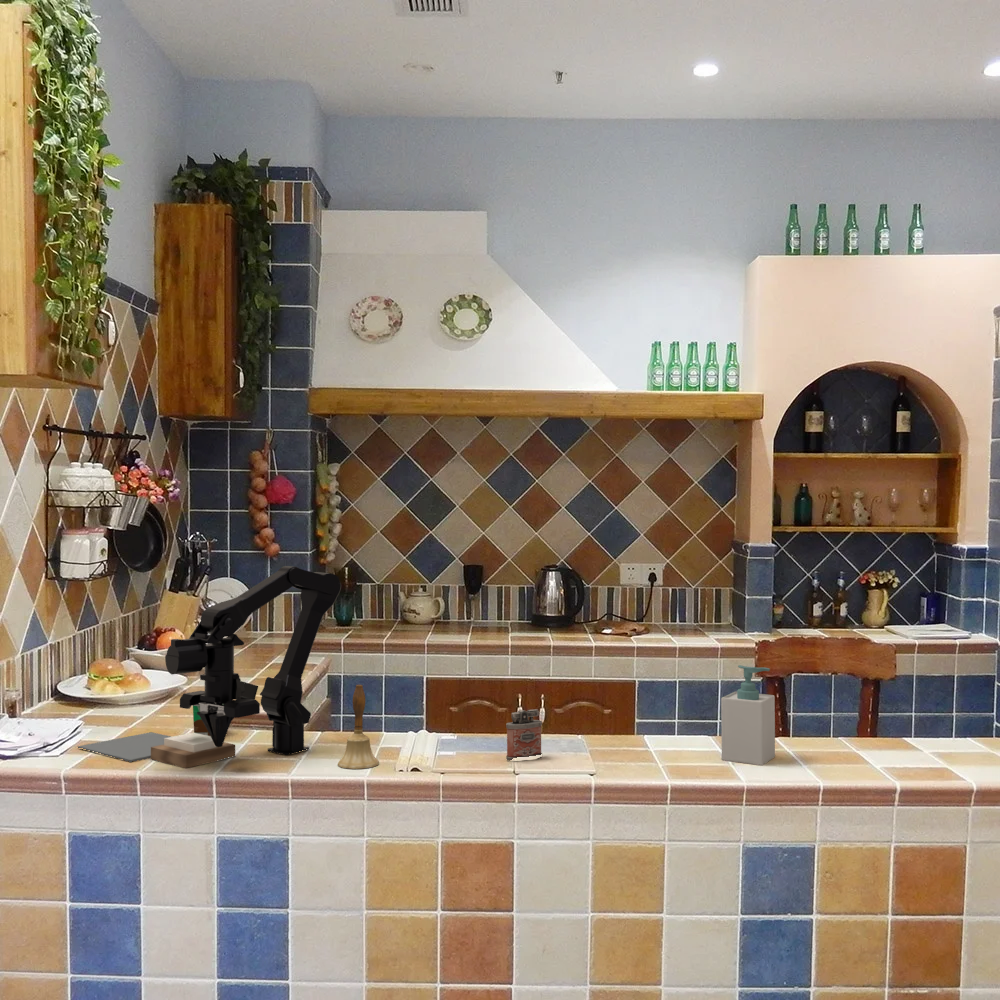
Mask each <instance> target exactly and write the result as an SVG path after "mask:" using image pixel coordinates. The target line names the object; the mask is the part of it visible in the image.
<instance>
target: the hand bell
mask: <svg viewBox="0 0 1000 1000" xmlns="http://www.w3.org/2000/svg"><path fill="white" fill-rule="evenodd" d="M363 687H364V686H363V684H356V685H355V689H354V691H353V695H352V710H353V714H354V727H353V729H354V730H353V734H352V735H350V736H349V737H347V738H346V739H347V740H346V746H345V751H344V753H343V756H342V757H341V759H340V760H338V762H337V766H338V767H339V768H343V769H351V770H356V769H357V770H362V769H370V768H374V767H376V766H379V764H380V762H379V760H378V758H377V757H376V756H375V755H374V754H373V751H372V748H371V740H370V737H369V736H368V735H366V734H364V733H363V729H364V727H363V726H364V724H363V723H364V722H363V717H364V711H365V707H366V694H365V690H364V688H363Z"/></svg>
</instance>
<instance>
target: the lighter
mask: <svg viewBox="0 0 1000 1000" xmlns="http://www.w3.org/2000/svg"><path fill="white" fill-rule="evenodd" d="M539 715H540V711H539V709H527V711H526V710H523V709H519V710H518V711H516V712H511V720H512V722H507V723H506V724H505V726H506V727H505V728H506V757H505V758H506V759H507V760H512V759H513V758H517V757H529V756H536V755H541V754H542V755H543V752H542V726H543V720H539V719H534V717H538V716H539ZM506 759H505V760H506Z"/></svg>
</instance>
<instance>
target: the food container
mask: <svg viewBox="0 0 1000 1000" xmlns="http://www.w3.org/2000/svg"><path fill="white" fill-rule="evenodd" d="M222 705H224V704H222ZM197 712H200V705H193V706H192V716H193V717H192V718H193V733H197V734H202V735H207V736H210V734H209V732H208V730H207V728H206V726H205V725H204V723H203V721H202V719H201V718H200V716H199V715H197Z"/></svg>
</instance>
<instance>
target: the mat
mask: <svg viewBox="0 0 1000 1000" xmlns="http://www.w3.org/2000/svg"><path fill="white" fill-rule="evenodd" d="M168 737H172V736H171V735H167V734H162V733H157V732H152V731H150V732H145V733H139V734H134V735H130V736H129V735H128V736H124V737H119V738H113V739H109V740H104V741H99V742H93V743H88V744H82V745H77V747H78V748H83V749H86V750H90V751H94V752H98V753H101V754H104V755H108V756H112V757H115V758H119V759H123V760H125V761H124V762H127V761H129V762H128V763H133V762H132V761H135V762H138V761H137V760H139V761H143V760H142V759H144V760H148V759H151V747H154V746H159V745H164V738H168ZM104 755H103V756H104ZM108 756H107V757H108ZM112 757H111V758H112ZM115 758H114V759H115ZM147 758H148V759H147ZM119 759H118V760H119ZM123 760H122V761H123Z"/></svg>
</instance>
